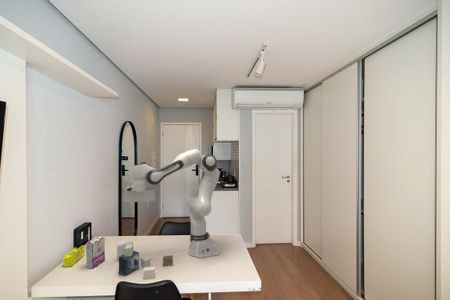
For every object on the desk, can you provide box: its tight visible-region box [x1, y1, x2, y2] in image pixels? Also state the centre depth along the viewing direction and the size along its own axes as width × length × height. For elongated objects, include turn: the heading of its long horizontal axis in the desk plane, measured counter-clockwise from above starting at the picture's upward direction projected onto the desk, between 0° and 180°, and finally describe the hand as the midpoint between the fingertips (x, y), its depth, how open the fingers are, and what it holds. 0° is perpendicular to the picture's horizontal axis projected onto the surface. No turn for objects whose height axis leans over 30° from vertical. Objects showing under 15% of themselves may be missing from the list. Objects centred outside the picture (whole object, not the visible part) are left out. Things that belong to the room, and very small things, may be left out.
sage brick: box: [124, 243, 134, 257], centre depth 144 cm, size 4×6×5 cm, turn 11°
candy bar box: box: [85, 235, 106, 270], centre depth 153 cm, size 11×5×16 cm, turn 170°
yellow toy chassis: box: [62, 245, 85, 268], centre depth 157 cm, size 16×6×8 cm, turn 6°
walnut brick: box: [162, 255, 174, 267], centre depth 153 cm, size 4×6×5 cm, turn 101°
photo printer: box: [116, 239, 134, 262], centre depth 161 cm, size 10×4×12 cm, turn 123°
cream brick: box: [142, 266, 156, 280], centre depth 138 cm, size 4×6×5 cm, turn 101°
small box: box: [118, 250, 140, 277], centre depth 144 cm, size 11×6×10 cm, turn 151°
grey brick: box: [140, 255, 151, 269], centre depth 151 cm, size 4×6×5 cm, turn 41°
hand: (139, 208), depth 159 cm, fingers open, 8 cm apart
